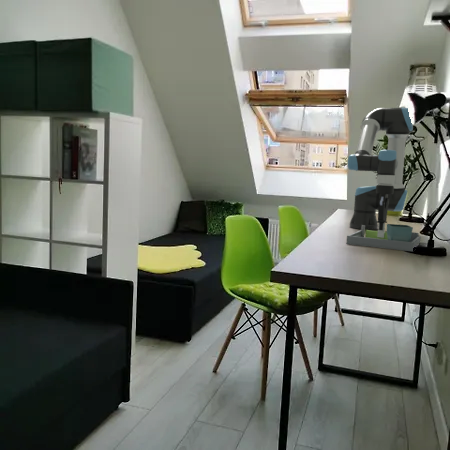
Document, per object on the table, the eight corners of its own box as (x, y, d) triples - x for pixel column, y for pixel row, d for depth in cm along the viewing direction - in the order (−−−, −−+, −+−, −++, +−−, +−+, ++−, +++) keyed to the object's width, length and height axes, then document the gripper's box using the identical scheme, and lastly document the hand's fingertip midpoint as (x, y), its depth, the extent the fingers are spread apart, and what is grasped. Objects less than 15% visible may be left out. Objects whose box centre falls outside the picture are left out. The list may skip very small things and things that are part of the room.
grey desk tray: (359, 237, 223) (360, 224, 222) (420, 244, 210) (421, 230, 210) (346, 243, 202) (347, 229, 201) (412, 251, 189) (414, 236, 188)
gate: (366, 237, 221) (367, 227, 221) (393, 241, 214) (394, 230, 213) (364, 237, 220) (365, 228, 219) (391, 241, 212) (392, 231, 212)
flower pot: (411, 248, 196) (413, 227, 195) (389, 247, 197) (391, 226, 196) (405, 245, 205) (407, 224, 204) (384, 244, 206) (386, 223, 205)
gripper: (379, 184, 219) (375, 235, 222) (373, 184, 208) (369, 237, 211) (396, 185, 216) (391, 236, 219) (391, 185, 205) (386, 239, 207)
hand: (380, 237), depth 215 cm, fingers closed
